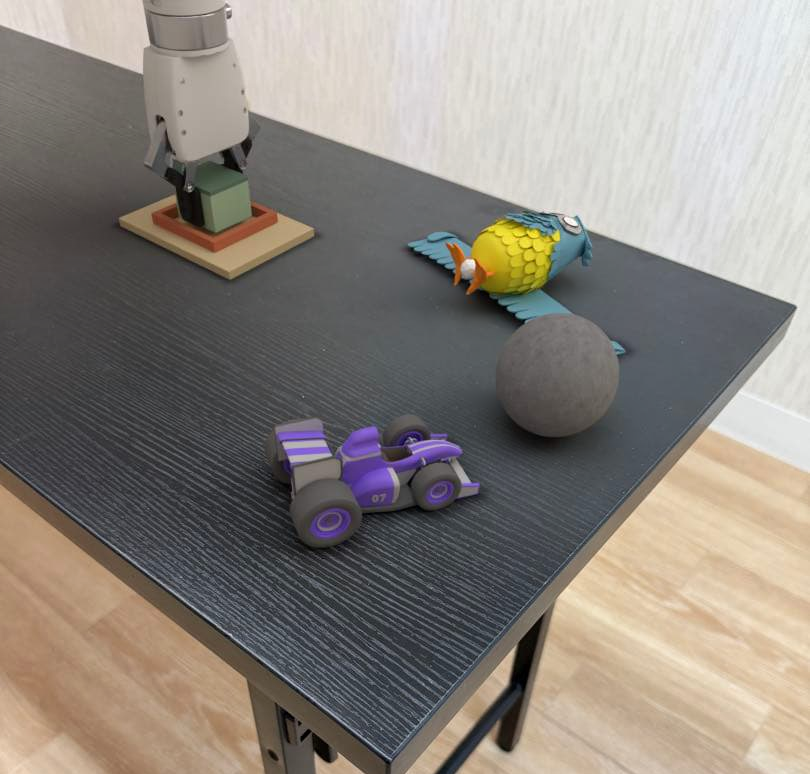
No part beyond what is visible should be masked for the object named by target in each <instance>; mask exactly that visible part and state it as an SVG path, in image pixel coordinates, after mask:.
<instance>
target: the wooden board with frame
mask: <svg viewBox="0 0 810 774" xmlns="http://www.w3.org/2000/svg"><path fill="white" fill-rule="evenodd" d="M250 203H251V212H252V216H251V217H249V218H247V219H244V220H242V221H240V222H238V223H236V224H234V225H232V226H229V227H227V228H225V229H223V230H221V231H219V232H217V233H214V232H212V231H210V230H208V229H206V228H204V227H197V226H195V225H193V224H191V223H189V222H186V221H184V220H183V219H182V217H180V216H179V214H178V208H177V202H176V197H175V194H173V195H170V196H167V197H166V198H163V199H161V200H159V201H156V202H154V203H151V204H149V205H147V206H144V207H142V208H139V209H137V210H134V211H132V212H129V213H127V214H125V215H122V216H119V217H118V222H119V226H120V227H121V228H123V229H125V230H127V231H129V232H132V233H134V234H135V235H137V236H140V237H142V238H144V239H145V240H148V241H150V242H152V243H153V244H156V245H157V246H159V247H162V248H163V249H166V250H168V251H170V252H172V253H174V254H176V255H178V256H179V257H183V258H184V259H186V260H188V261H191V262H192V263H194V264H196V265H198V266H200V267H202V268H205V269H206V270H209V271H211V272H213V273H215V274H216V275H218V276H221V277H222V278H224V279H227V280H229V281H230V280H233V279H234V278H237V277H239V276H241V275H242V274H244V273H246V272H249V271H250V270H252V269H254V268H256V267H258V266H260V265H262V264H264V263H265V262H267V261H270V260H272V259H273V258H275V257H278V256H279V255H281V254H283V253H285V252H287V251H288V250H290V249H293V248H294V247H296V246H298V245H301V244H303V243H304V242H306V241H308V240H311V239H313V238H314V237H315V229H314V227H311V226H309V225H307V224H304V223H302V222H301V221H300V222H299V221H298V220H295V219H293V218H291V217H288V216H286V215H283V214H281V213H279V212H277V211H276V210H273V209H271V208H268V207H266V206H264V205H261V204H260V203H257V202H254V201H252V200H250Z"/></svg>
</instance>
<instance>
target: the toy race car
mask: <svg viewBox="0 0 810 774" xmlns="http://www.w3.org/2000/svg"><path fill="white" fill-rule="evenodd" d="M323 421H324V420H323V419H322V418H321V417H318V416H313V417H307V418H295V419H291V420H287V421H285V422H282V423H280V424H274V425H273V430H272V431H271V432H270V433H269V434H268V436H267V437H266V440H265V443H264V448H263V449H264V455H265V458H266V459H267V462H268V464H269V468H270V469H271V472H272V473H273V475H274V477H275V478H276V479H277V480H278V481H280V482H282V483H284V484H287V485H291V490H292V491H291V492H290V494H291V499H292V500H291V502H290V506H289V515H290V518H291V521H292V523H293V525H294V528H295V530H296V532H297V533H296V534H297V535H298V537H299V539H300V541H301V542H303V543H304V544H305V545H307V546H308V547H312V548H316V549H325V548H326V549H327V548H331V547H335V546H337V545H339V544H342V543H344V542H345V541H347V540H349V539H350V538H351V537H352V536H353V535H354V534H355V533H356V532H357V531H358V529H359V528H360V526H361V523H362V520H363V514H371V513H382V512H383V513H384V512H385V513H386V512H393V511H399V510H404V509H407V508H411V507H414V506H419V507H420V508H422V510H425V511H438V510H442V509H444V508H446V507H448V506H449V505H451V504H452V503H453V502H455V500H459V499H463V498H467V497H472V496H477V495H479V493H480V488H481V485H480V483H479V482H472V481H471V480H470V478H469V477H468V474H466V472H465V471H464V469H463V466H461V465H460V463H459V461H458V459H457V458H458V457H461V456H463V454H464V453H463V452H464V451H463V450H462V448H461V446H460V445H458V444H455V443H452V442H451V441H448V440H449V435H448V434H447V433H431V432H430V430H429V428H428V426H427V424H426V423H425V422H424V420H423V418H421V417H420V416H418V415H416V414H414V413H413V414H412V413H411V414H410V413H408V414H403V415H400V416H397V417H395V418H394V419H393V420H391V421H390V422H389V423H387V425H386V426H385V428H384V430H383V433H382V442H383V444H384V447H382V446H381V444H380V443H379V440H380V439H379V438H380V434H379V430H378V428H377V426H375V425H373V426H368V427H364V428H359V429H356V430H354V431H352V432H351V433H350V434H349V436H348V438H347V439H346V440H344V442H342V444H341V445H340V446H338V448H336V451H335V452H334V455H333V453H332V448H331V446H330V444H329V442H328V440H327V438H326V435H325V431H324V430H325V429H324V422H323ZM439 461H440V462H439ZM413 476H414V477H413ZM412 477H413V478H412ZM411 478H412V480H411ZM410 480H411V482H410V486H409V484H408V482H409V481H410Z"/></svg>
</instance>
